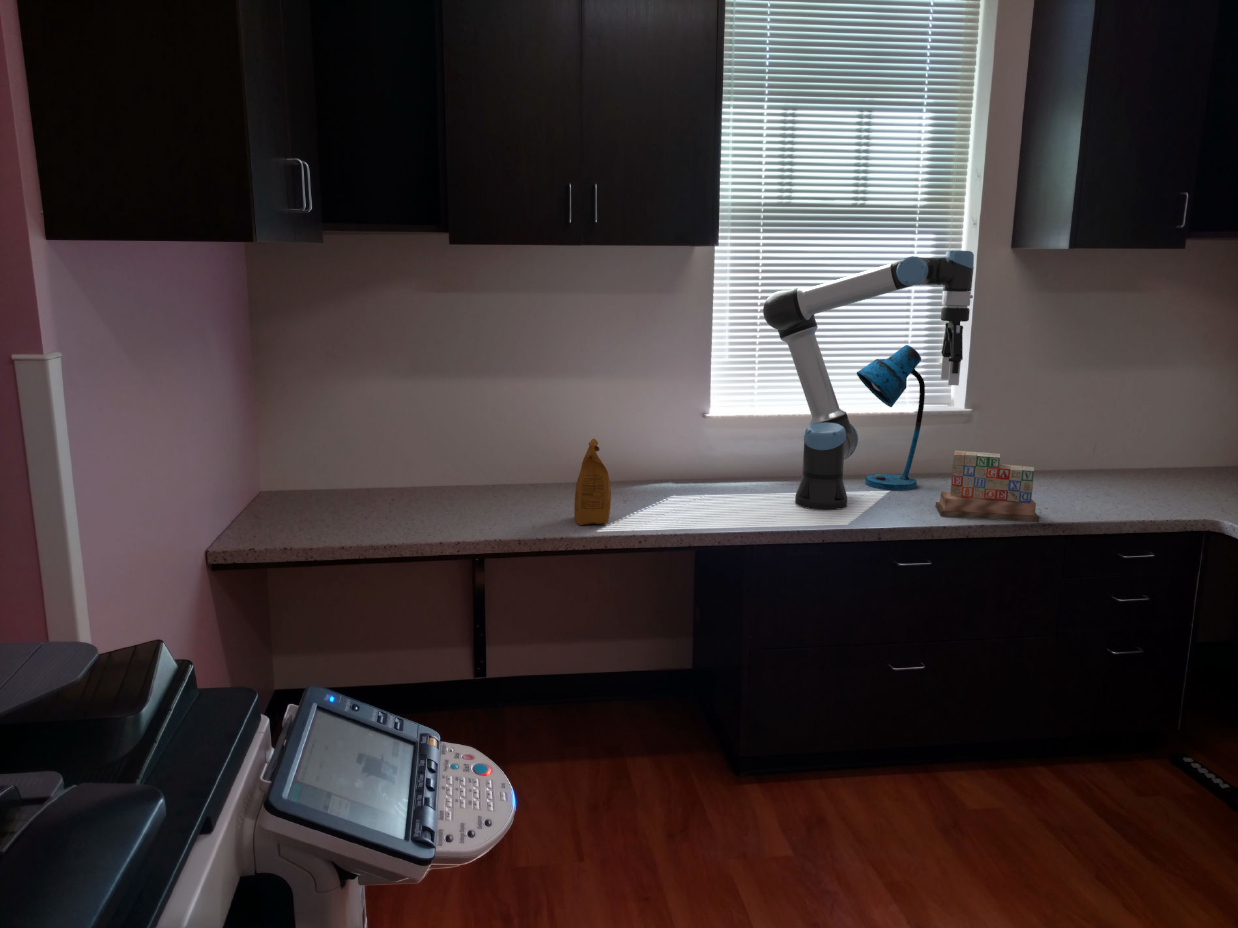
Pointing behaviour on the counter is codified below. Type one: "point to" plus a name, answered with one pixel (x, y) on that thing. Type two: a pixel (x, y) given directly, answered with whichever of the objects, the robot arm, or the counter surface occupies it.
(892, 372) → the desk lamp
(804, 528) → the counter surface
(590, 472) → the coffee package
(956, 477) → the stack of blocks
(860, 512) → the counter surface
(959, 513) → the base brick
